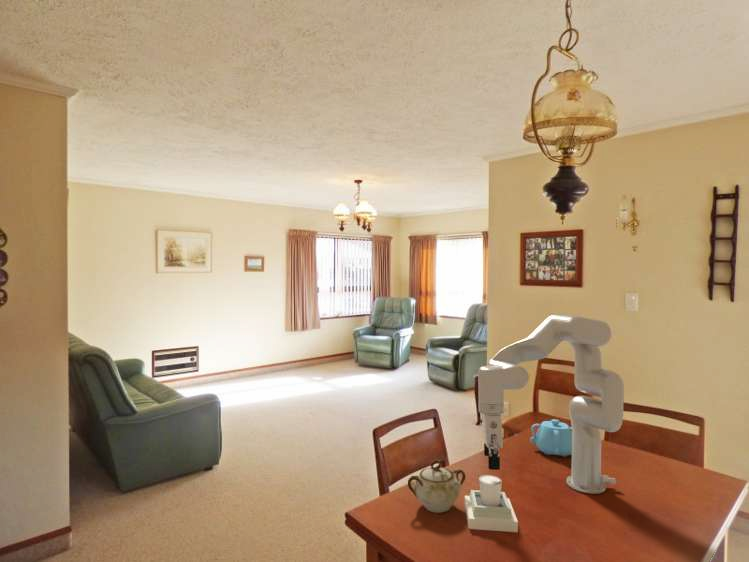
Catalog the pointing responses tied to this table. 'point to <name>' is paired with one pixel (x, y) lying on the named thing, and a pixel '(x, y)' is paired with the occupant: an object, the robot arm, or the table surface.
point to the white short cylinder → (490, 490)
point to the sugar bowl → (437, 487)
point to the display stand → (490, 514)
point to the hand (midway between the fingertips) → (491, 462)
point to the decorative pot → (553, 438)
